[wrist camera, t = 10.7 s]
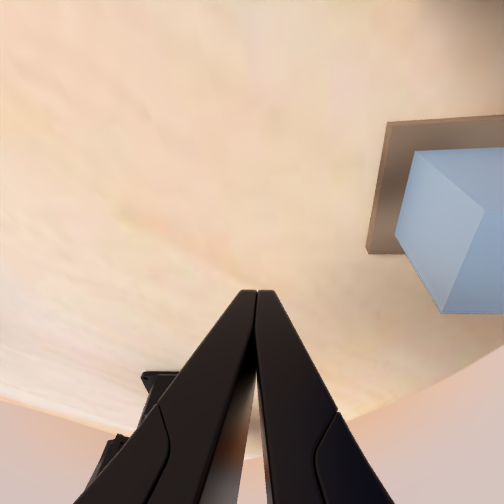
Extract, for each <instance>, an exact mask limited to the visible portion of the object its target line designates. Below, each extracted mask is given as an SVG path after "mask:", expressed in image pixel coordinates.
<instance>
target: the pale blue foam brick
mask: <svg viewBox="0 0 504 504" xmlns="http://www.w3.org/2000/svg"><path fill="white" fill-rule="evenodd" d="M395 237H396V238H397V240H398V242H399V243H400V245H401V247H402V248H403V250H404V252H405V254H406V255H407V257H408V259H409V260H410V262H411V264H412V265H413V267H414V269H415V271H416V272H417V274H418V276H419V277H420V279H421V281H422V282H423V284H424V286H425V287H426V289H427V291H428V293H429V294H430V296H431V298H432V299H433V301H434V303H435V304H436V306H437V308H438V310H439V311H440V313H441V314H504V147H496V148H474V149H451V150H428V151H415V153H414V157H413V161H412V165H411V169H410V173H409V178H408V182H407V186H406V190H405V194H404V198H403V202H402V206H401V210H400V214H399V218H398V223H397V227H396V231H395Z"/></svg>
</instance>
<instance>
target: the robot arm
mask: <svg viewBox="0 0 504 504" xmlns="http://www.w3.org/2000/svg"><path fill="white" fill-rule="evenodd" d="M256 372H257V389H258V400H259V412H260V423H261V435H262V447H263V458H264V469H265V481H266V493H267V504H395V503H394V502H393V500H392V499H391V497H390V496H389V494H388V492H387V491H386V489H385V488H384V486H383V485H382V483H381V482H380V480H379V478H378V477H377V475H376V474H375V472H374V471H373V469H372V468H371V466H370V464H369V463H368V461H367V459H366V458H365V456H364V454H363V452H362V451H361V449H360V448H359V446H358V444H357V442H356V441H355V439H354V437H353V435H352V433H351V432H350V430H349V428H348V426H347V424H346V422H345V420H344V419H343V417H342V415H341V413H340V412H337V411H338V408H337V406H336V404H335V402H334V400H333V399H332V397H331V395H330V393H329V391H328V389H327V387H326V386H325V384H324V382H323V380H322V378H321V376H320V374H319V373H318V371H317V369H316V367H315V365H314V363H313V361H312V359H311V358H310V356H309V354H308V352H307V350H306V348H305V346H304V345H303V343H302V341H301V339H300V337H299V335H298V333H297V332H296V330H295V328H294V326H293V324H292V322H291V320H290V319H289V317H288V315H287V313H286V311H285V309H284V307H283V306H282V304H281V302H280V300H279V298H278V296H277V294H276V293H275V291H273V290H259V291H258V293H257V291H256V290H241V291H240V292H239V293H238V294H237V296H236V297H235V298H234V300H233V301H232V302H231V304H230V305H229V306H228V308H227V309H226V310H225V312H224V313H223V314H222V316H221V317H220V318H219V320H218V321H217V322H216V324H215V325H214V326H213V328H212V329H211V330H210V332H209V333H208V334H207V336H206V337H205V338H204V340H203V341H202V343H201V344H200V345H199V347H198V348H197V349H196V351H195V352H194V353H193V355H192V356H191V357H190V359H189V360H188V361H187V363H186V364H185V365H184V367H183V368H182V369H181V371H180V372H179V373H174V372H143V373H142V375H141V379H142V381H143V383H144V385H145V387H146V389H147V391H148V393H149V395H148V398H147V401H146V404H145V406H144V409H143V412H142V415H141V418H140V420H139V423H138V426H137V429H136V430H135V432H134V433H133V434H132V435H131V437H125V436H123V435H121V434H117V436H116V438H115V439H113V440H109V441H108V442H107V444H106V447H105V449H104V451H103V454H102V456H101V459H100V461H99V463H98V465H97V467H96V469H95V471H94V473H93V475H92V477H91V479H90V481H89V483H88V484H87V486H86V488H85V490H84V492H83V493H82V494H81V495H80V496H79V497H78V499H77V500H76V501H75V502H74V503H73V504H237V498H238V491H239V485H240V479H241V472H242V466H243V460H244V453H245V447H246V441H247V434H248V428H249V422H250V415H251V409H252V403H253V396H254V390H255V383H256Z"/></svg>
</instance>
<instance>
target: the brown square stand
mask: <svg viewBox="0 0 504 504" xmlns="http://www.w3.org/2000/svg"><path fill="white" fill-rule="evenodd" d="M496 147H504V115H494V116H478V117H462V118H446V119H430V120H414V121H398V122H387V127H386V133H385V138H384V144H383V150H382V156H381V162H380V167H379V173H378V179H377V185H376V191H375V196H374V202H373V208H372V214H371V219H370V225H369V231H368V237H367V243H366V249H367V251H368V254H399V253H405V252H404V250H403V248H402V247H401V245H400V243H399V242H398V240H397V238H396V237H395V231H396V227H397V223H398V218H399V214H400V210H401V206H402V202H403V198H404V194H405V190H406V186H407V182H408V178H409V173H410V169H411V165H412V161H413V157H414V153H415V151H428V150H451V149H474V148H496Z"/></svg>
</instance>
